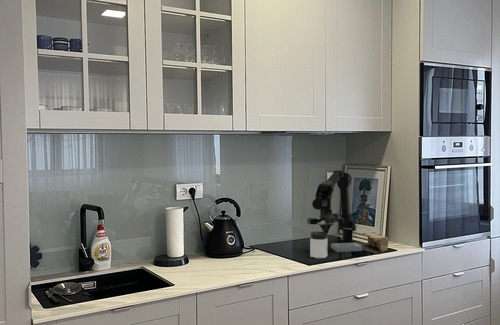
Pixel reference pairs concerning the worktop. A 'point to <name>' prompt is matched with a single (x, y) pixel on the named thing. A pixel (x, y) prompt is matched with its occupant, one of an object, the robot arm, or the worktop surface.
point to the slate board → (346, 247)
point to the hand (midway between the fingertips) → (325, 236)
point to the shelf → (377, 241)
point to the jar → (318, 245)
